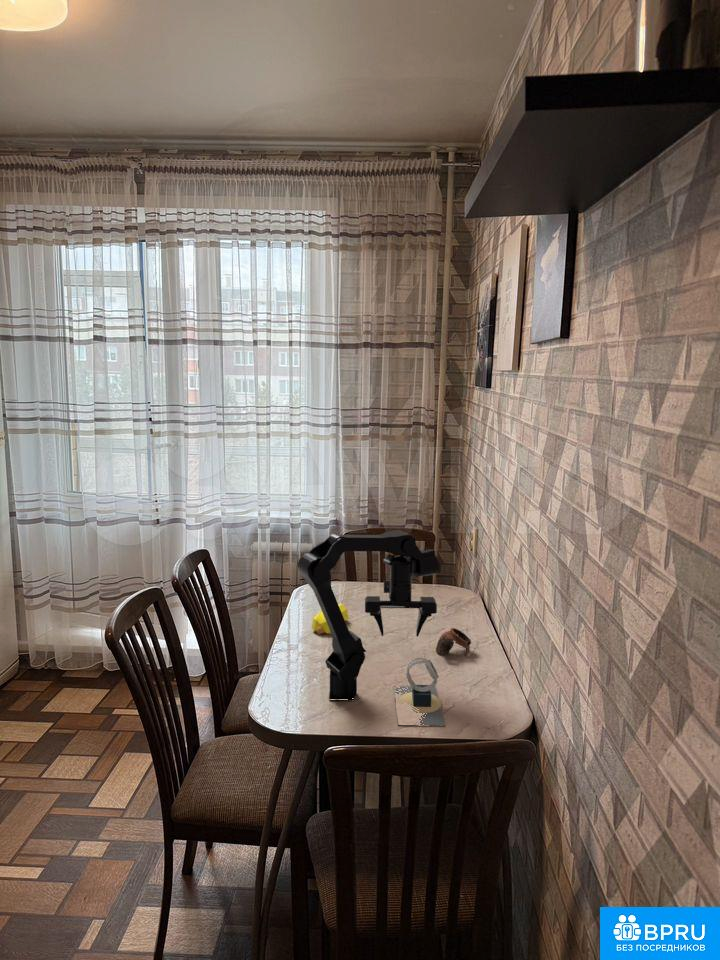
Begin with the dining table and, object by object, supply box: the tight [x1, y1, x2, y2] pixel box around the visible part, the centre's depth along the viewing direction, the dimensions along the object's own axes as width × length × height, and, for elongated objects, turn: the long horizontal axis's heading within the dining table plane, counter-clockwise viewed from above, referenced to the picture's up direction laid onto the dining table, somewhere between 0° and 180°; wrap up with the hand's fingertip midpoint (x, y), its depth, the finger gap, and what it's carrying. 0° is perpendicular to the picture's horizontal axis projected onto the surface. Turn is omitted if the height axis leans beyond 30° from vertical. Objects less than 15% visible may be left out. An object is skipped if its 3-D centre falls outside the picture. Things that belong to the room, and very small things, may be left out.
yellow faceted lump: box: [311, 603, 349, 635], centre depth 215 cm, size 18×7×8 cm
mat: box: [393, 685, 446, 727], centre depth 163 cm, size 12×20×1 cm, turn 0°
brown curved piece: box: [435, 627, 472, 657], centre depth 194 cm, size 12×10×8 cm
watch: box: [406, 657, 439, 707], centre depth 164 cm, size 6×8×11 cm
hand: (399, 635), depth 174 cm, fingers open, 9 cm apart
